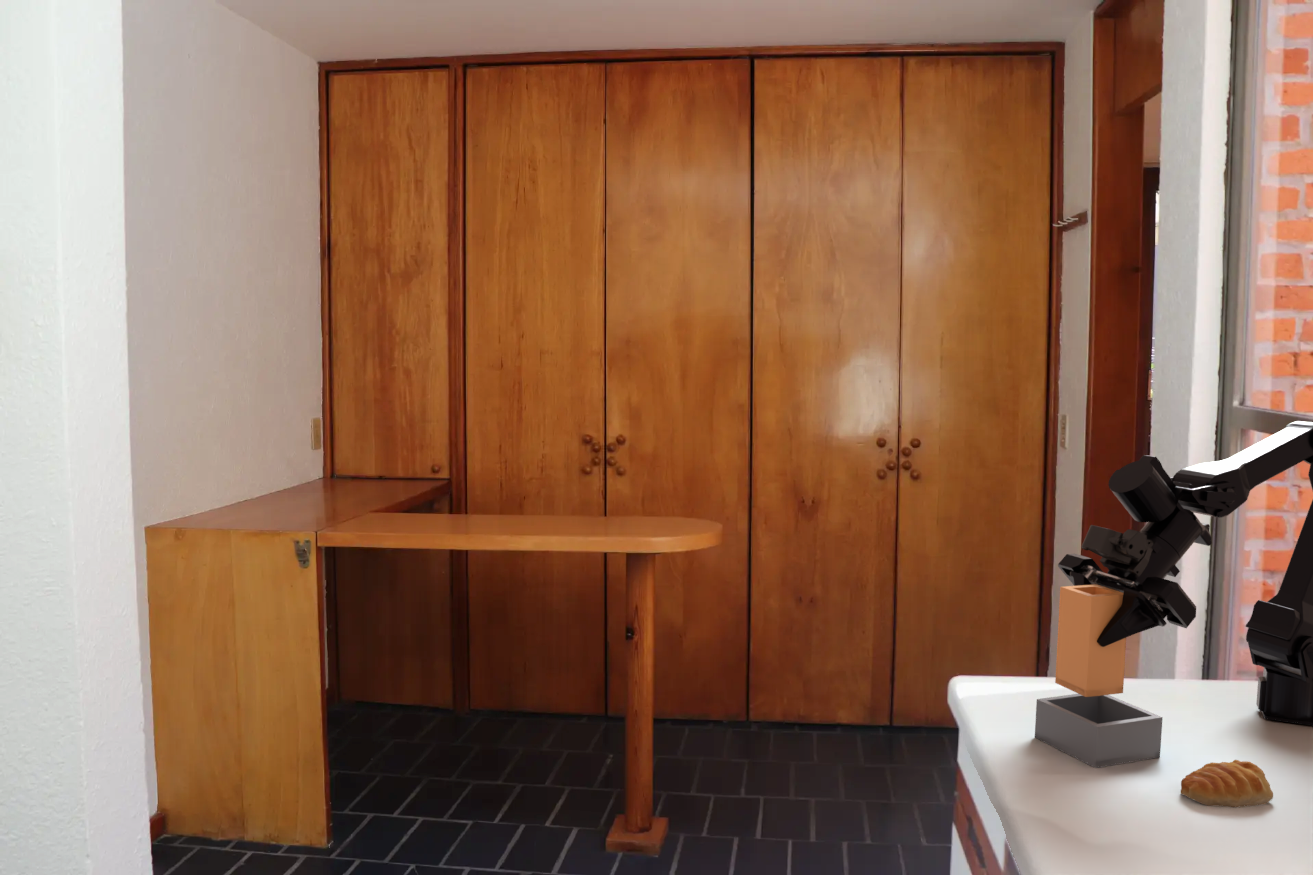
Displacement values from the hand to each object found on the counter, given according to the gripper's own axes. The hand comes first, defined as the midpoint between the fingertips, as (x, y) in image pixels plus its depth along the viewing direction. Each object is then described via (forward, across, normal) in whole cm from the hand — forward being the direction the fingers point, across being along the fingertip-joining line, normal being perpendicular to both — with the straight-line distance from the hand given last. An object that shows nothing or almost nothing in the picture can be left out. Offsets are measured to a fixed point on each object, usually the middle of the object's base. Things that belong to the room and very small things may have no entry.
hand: (1082, 637), depth 130 cm
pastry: (+6, +18, +14) cm, 23 cm away
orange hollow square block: (+4, 0, +6) cm, 7 cm away
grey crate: (+9, +2, +10) cm, 14 cm away
